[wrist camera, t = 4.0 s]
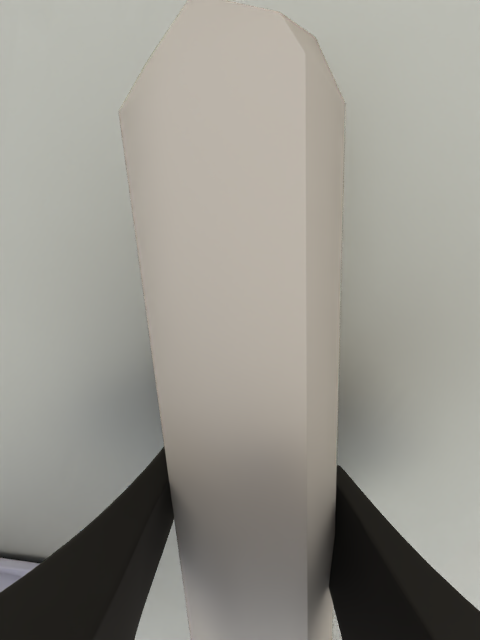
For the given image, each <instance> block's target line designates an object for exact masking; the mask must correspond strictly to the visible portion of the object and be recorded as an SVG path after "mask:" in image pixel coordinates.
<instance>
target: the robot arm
mask: <svg viewBox="0 0 480 640" xmlns="http://www.w3.org/2000/svg"><path fill="white" fill-rule="evenodd" d="M173 520H174V513H173V506H172V498H171V491H170V484H169V476H168V469H167V462H166V454H165V447H163V448H162V450H161V451H160V452H159V453H158V455H157V456H156V457H155V458H154V459H153V461H152V462H151V463H150V464H149V465H148V466H147V468H146V469H145V470H144V471H143V472H142V473H141V474H140V475H139V476H138V477H137V478H136V479H135V481H134V482H133V483H132V484H131V485H130V486H129V487H128V488H127V489H126V490H125V491H124V492H123V493H122V494H121V495H120V496H119V497H118V498H117V499H116V500H115V501H114V502H113V503H112V504H111V505H110V506H108V507H107V508H106V509H105V510H104V511H103V512H102V513H101V514H100V515H99V516H98V517H97V518H95V519H94V520H93V521H92V522H91V523H90V524H89V525H88V526H86V527H85V528H84V529H83V530H82V531H80V532H79V533H78V534H77V535H76V536H75V537H73V538H72V539H71V540H70V541H69V542H67V543H66V544H65V545H63V546H62V547H61V548H60V549H58V550H57V551H56V552H55V553H53V554H52V555H51V556H50V557H48V558H47V559H46V560H44V561H43V562H42V563H34V562H27V561H20V560H12V559H5V558H0V640H134V638H135V635H136V631H137V627H138V624H139V621H140V618H141V614H142V611H143V608H144V605H145V602H146V599H147V596H148V593H149V590H150V587H151V585H152V582H153V579H154V576H155V573H156V570H157V567H158V564H159V561H160V558H161V556H162V553H163V550H164V547H165V544H166V541H167V538H168V535H169V532H170V529H171V526H172V523H173ZM329 590H330V594H331V598H332V602H333V605H334V609H335V613H336V616H337V620H338V624H339V628H340V631H341V636H342V640H480V611H479V610H477V609H476V608H475V607H474V606H473V605H472V604H471V603H470V602H469V601H467V600H466V599H465V598H464V597H463V596H462V595H461V594H460V593H459V592H458V591H457V590H456V589H455V588H453V587H452V586H451V585H450V584H449V583H448V582H447V581H446V580H445V579H444V578H443V577H442V576H441V575H440V574H439V573H438V572H436V571H435V570H434V569H433V568H432V567H431V566H430V565H429V564H428V563H427V562H426V561H425V560H424V559H423V558H422V557H421V556H420V555H419V554H418V552H417V551H416V550H415V549H414V548H413V547H412V546H411V545H410V544H409V543H408V542H407V541H406V540H405V539H404V538H403V537H402V536H401V535H400V534H399V533H398V532H397V530H396V529H395V528H394V527H393V526H392V525H391V524H390V523H389V522H388V521H387V519H386V518H385V517H384V516H383V515H382V514H381V513H380V512H379V510H378V509H377V508H376V507H375V506H374V505H373V504H372V502H371V501H370V500H369V499H368V498H367V497H366V495H365V494H364V493H363V492H362V491H361V490H360V488H359V487H358V486H357V485H356V484H355V483H354V481H353V480H352V479H351V478H350V477H349V476H348V474H347V473H346V472H345V471H344V470H343V469H342V468H341V467H340V466H338V465H337V471H336V512H335V538H334V546H333V554H332V563H331V571H330V579H329Z"/></svg>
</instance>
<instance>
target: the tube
mask: <svg viewBox="0 0 480 640" xmlns="http://www.w3.org/2000/svg"><path fill="white" fill-rule="evenodd" d="M345 107H346V103H345V101H344V99H343V97H342V95H341V92H340V90H339V88H338V86H337V84H336V81H335V79H334V77H333V75H332V72H331V70H330V68H329V66H328V64H327V61H326V59H325V57H324V55H323V53H322V50H321V48H320V46H319V44H318V42H317V39H316V37H315V36H313V35H312V34H310V33H309V32H308V31H306V30H305V29H303V28H302V27H300V26H299V25H298V24H296V23H295V22H293V21H292V20H290V19H289V18H288V17H286V16H285V15H283V14H282V13H280V12H278V11H273V10H268V9H264V8H259V7H254V6H250V5H245V4H240V3H235V2H231V1H226V0H188V1H187V2H186V4H185V5H184V7H183V8H182V10H181V11H180V13H179V14H178V16H177V17H176V19H175V20H174V22H173V23H172V25H171V26H170V28H169V29H168V31H167V32H166V34H165V35H164V37H163V38H162V40H161V41H160V43H159V44H158V46H157V47H156V49H155V50H154V52H153V53H152V55H151V56H150V58H149V59H148V61H147V62H146V64H145V66H144V67H143V69H142V71H141V73H140V74H139V76H138V78H137V80H136V81H135V83H134V85H133V87H132V88H131V90H130V92H129V94H128V95H127V97H126V99H125V101H124V102H123V104H122V106H121V108H120V109H119V119H120V126H121V133H122V141H123V148H124V155H125V162H126V170H127V177H128V184H129V192H130V199H131V206H132V214H133V221H134V228H135V235H136V243H137V250H138V257H139V265H140V272H141V279H142V287H143V294H144V301H145V308H146V316H147V323H148V330H149V338H150V345H151V352H152V360H153V367H154V374H155V381H156V389H157V396H158V403H159V411H160V418H161V425H162V433H163V440H164V447H165V454H166V462H167V469H168V476H169V484H170V491H171V498H172V506H173V513H174V520H175V527H176V535H177V542H178V549H179V557H180V564H181V571H182V579H183V586H184V593H185V600H186V608H187V615H188V622H189V630H190V637H191V640H332V633H333V602H332V598H331V594H330V590H329V579H330V571H331V563H332V554H333V546H334V538H335V512H336V471H337V431H338V390H339V350H340V309H341V269H342V228H343V188H344V148H345Z"/></svg>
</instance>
